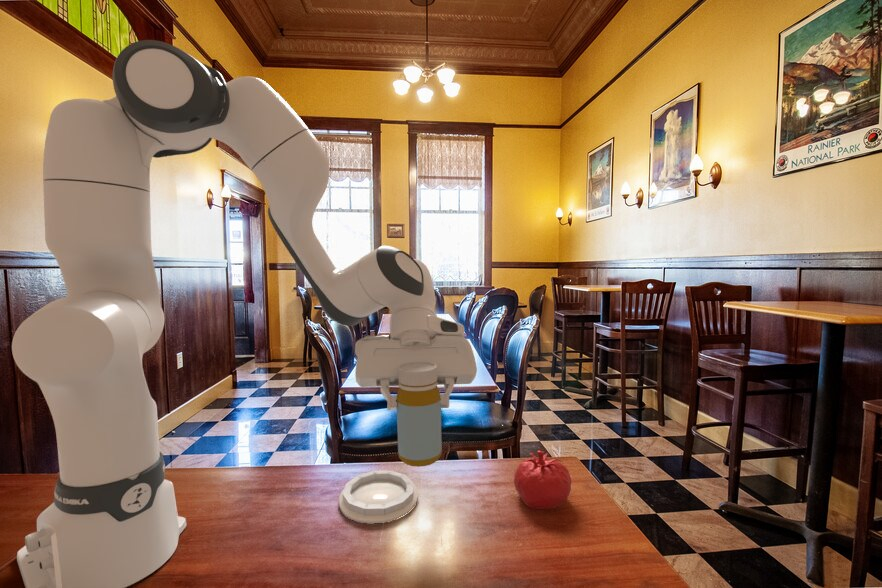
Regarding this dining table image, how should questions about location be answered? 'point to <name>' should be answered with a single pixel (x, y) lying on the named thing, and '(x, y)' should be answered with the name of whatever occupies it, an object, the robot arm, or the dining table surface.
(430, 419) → the bottle
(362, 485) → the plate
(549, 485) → the pomegranate
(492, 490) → the dining table surface
